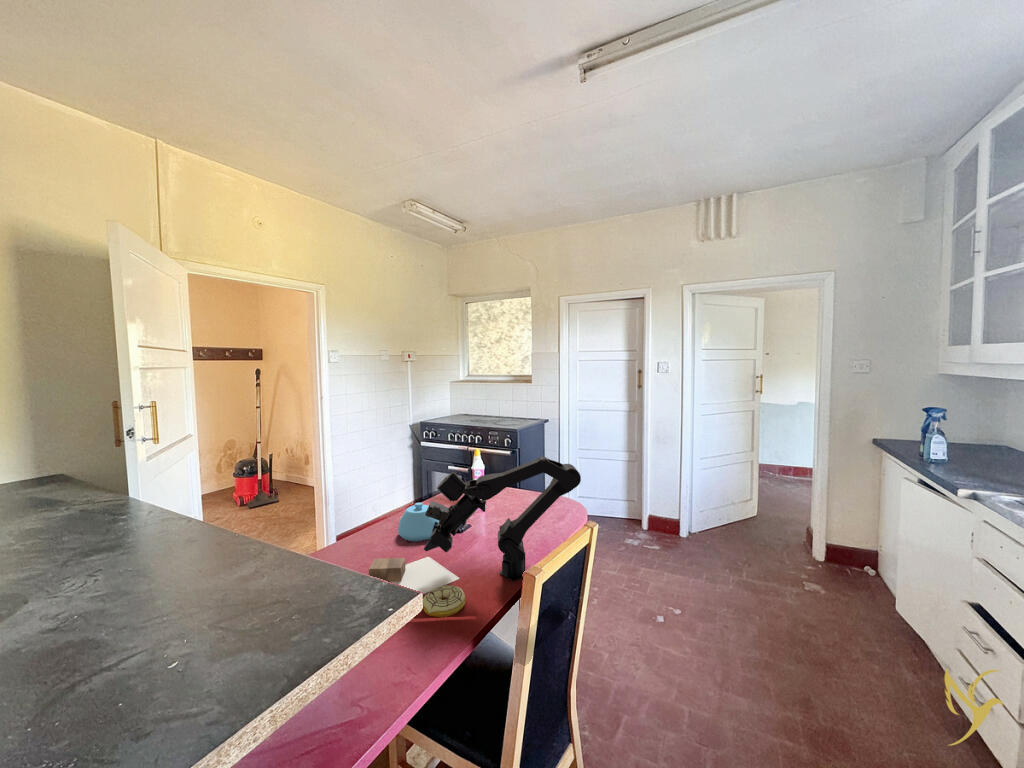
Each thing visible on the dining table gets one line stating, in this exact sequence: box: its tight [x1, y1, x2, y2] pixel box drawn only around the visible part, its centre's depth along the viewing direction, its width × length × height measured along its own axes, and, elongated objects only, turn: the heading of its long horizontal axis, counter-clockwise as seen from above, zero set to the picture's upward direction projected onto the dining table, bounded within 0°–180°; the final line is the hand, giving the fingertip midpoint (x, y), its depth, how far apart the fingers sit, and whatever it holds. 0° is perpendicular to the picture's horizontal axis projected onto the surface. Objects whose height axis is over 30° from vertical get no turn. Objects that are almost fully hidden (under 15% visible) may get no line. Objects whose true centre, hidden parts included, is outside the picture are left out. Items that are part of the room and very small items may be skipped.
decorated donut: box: [422, 584, 466, 619], centre depth 103 cm, size 10×11×4 cm
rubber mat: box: [393, 556, 461, 595], centre depth 117 cm, size 16×18×1 cm
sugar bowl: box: [397, 502, 440, 542], centre depth 148 cm, size 15×15×12 cm
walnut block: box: [368, 557, 406, 583], centre depth 117 cm, size 4×6×9 cm
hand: (425, 549), depth 117 cm, fingers closed
